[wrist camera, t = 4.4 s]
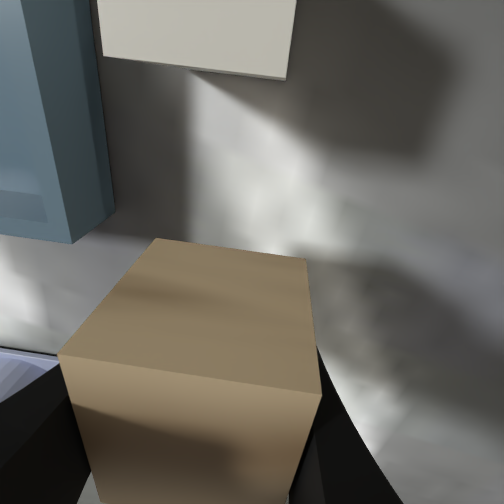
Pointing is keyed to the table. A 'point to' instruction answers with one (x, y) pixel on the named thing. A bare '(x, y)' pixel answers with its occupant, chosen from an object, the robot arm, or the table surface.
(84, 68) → the tote
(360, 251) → the table surface
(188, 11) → the cream carton
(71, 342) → the oak block
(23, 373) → the robot arm
